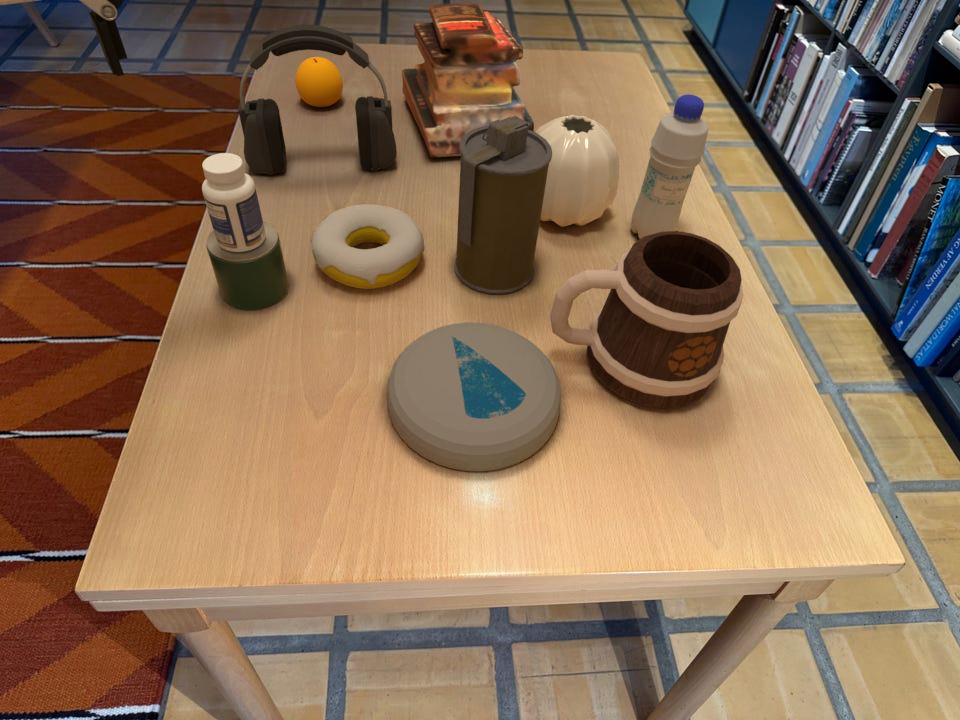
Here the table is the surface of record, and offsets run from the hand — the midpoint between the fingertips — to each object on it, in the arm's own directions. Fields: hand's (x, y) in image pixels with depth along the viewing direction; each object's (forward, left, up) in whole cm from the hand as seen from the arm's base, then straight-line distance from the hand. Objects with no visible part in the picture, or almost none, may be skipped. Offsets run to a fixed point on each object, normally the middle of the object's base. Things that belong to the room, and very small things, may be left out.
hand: (48, 80), depth 49 cm
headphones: (+12, +40, -31) cm, 52 cm away
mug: (+52, 0, -31) cm, 60 cm away
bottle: (+60, +25, -31) cm, 72 cm away
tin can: (+8, +11, -30) cm, 33 cm away
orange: (+9, +60, -31) cm, 68 cm away
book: (+34, +54, -31) cm, 71 cm away
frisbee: (+34, -6, -31) cm, 46 cm away
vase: (+48, +30, -31) cm, 64 cm away
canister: (+37, +16, -31) cm, 51 cm away
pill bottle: (+7, +11, -23) cm, 27 cm away
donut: (+21, +17, -31) cm, 41 cm away
